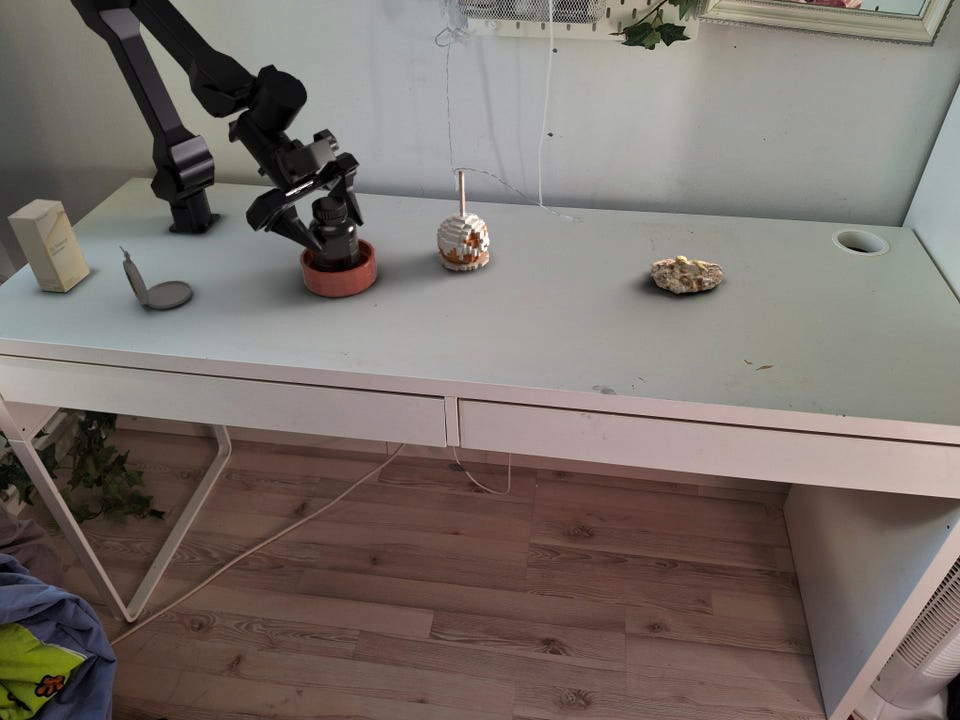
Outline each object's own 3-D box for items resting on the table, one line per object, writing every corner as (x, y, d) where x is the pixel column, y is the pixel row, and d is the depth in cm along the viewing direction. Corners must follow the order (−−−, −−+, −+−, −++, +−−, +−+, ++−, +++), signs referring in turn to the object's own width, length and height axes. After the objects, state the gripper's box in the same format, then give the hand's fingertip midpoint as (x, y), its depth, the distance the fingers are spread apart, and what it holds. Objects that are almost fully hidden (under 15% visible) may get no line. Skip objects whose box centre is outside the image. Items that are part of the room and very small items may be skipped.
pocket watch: (202, 290, 107) (183, 230, 100) (165, 321, 100) (143, 259, 94) (157, 281, 109) (136, 222, 103) (118, 311, 103) (94, 250, 96)
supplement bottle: (348, 259, 112) (338, 188, 105) (370, 277, 108) (361, 204, 100) (309, 273, 109) (295, 201, 101) (330, 293, 105) (317, 219, 97)
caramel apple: (473, 278, 108) (471, 186, 99) (429, 265, 111) (423, 175, 102) (497, 255, 114) (497, 165, 104) (455, 243, 117) (452, 155, 107)
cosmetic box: (66, 294, 106) (33, 220, 99) (39, 291, 107) (5, 217, 100) (92, 272, 111) (62, 200, 104) (66, 269, 112) (35, 197, 104)
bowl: (319, 257, 114) (315, 234, 111) (385, 263, 112) (383, 239, 110) (293, 295, 105) (288, 271, 103) (365, 301, 104) (362, 277, 101)
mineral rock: (655, 283, 102) (651, 243, 107) (649, 302, 106) (646, 263, 110) (731, 287, 102) (724, 246, 106) (722, 307, 105) (716, 266, 110)
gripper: (241, 139, 89) (321, 240, 91) (341, 96, 101) (409, 186, 104) (214, 184, 98) (287, 275, 100) (309, 139, 110) (372, 221, 112)
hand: (341, 237), depth 103 cm, fingers open, 9 cm apart
